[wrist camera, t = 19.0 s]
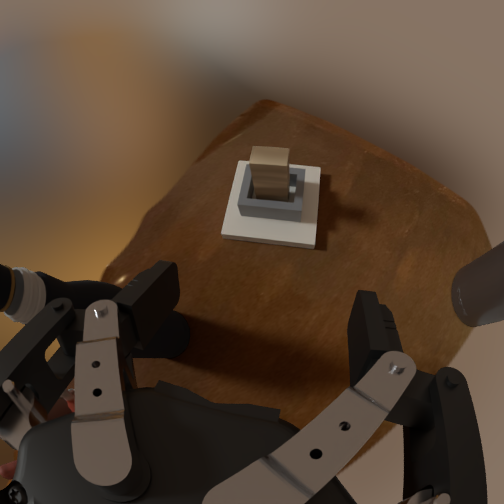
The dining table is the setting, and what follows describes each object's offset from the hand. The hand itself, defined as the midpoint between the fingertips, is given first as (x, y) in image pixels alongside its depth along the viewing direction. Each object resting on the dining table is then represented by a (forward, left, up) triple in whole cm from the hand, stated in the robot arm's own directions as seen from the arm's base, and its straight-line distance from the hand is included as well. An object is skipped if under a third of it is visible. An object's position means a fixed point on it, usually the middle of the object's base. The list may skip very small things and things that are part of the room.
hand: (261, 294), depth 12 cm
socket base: (-3, -17, -22) cm, 28 cm away
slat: (-3, -17, -20) cm, 27 cm away
